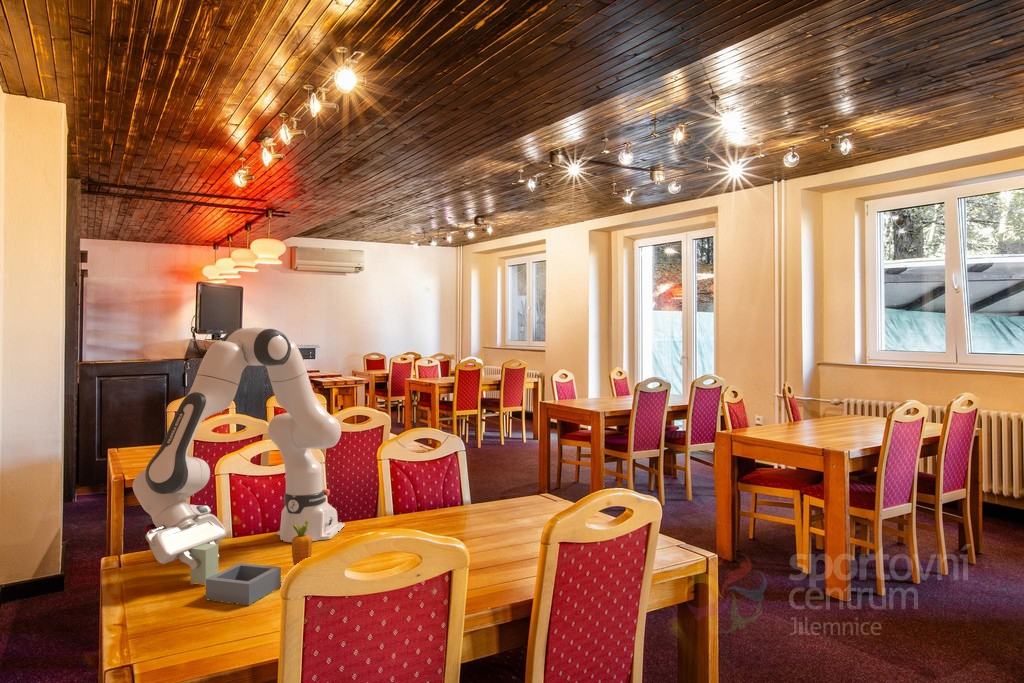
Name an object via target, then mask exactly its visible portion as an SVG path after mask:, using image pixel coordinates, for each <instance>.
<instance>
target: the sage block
mask: <svg viewBox="0 0 1024 683" xmlns="http://www.w3.org/2000/svg"><path fill="white" fill-rule="evenodd" d="M218 554H219V544H203V545H200V546H198V547H195V548H192V549H191V554H190V556H191V557H192V558H194V559H198V560H199V562H200V563H201V565H200V566H199V567H198V568H196V569H192V568H191V567H190V584H191V583H198V584H206V579H207V578H209V577H211V576H213V575H216V574H218V573H219V558H218Z"/></svg>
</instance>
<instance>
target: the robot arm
mask: <svg viewBox="0 0 1024 683" xmlns="http://www.w3.org/2000/svg"><path fill="white" fill-rule="evenodd" d="M247 366H252V367H254V366H255V367H257V366H265V368H266V370H267V374H268V378H269V382H270V385H271V388H272V392H273V394H274V398H275V400H276V401H275V402H277V405H279V406H280V407H281V408H282V409H284V410H285V411H286V412H283V413H281V414H277V415H274V417H272V419H271V420H270V422H269V424H268V428H267V430H268V432H267V433H268V437H269V439H270V440H271V441H272V442H273V443H274V444H275V446H276V447H277V448H278V451H279V454H280V455H281V457H282V461H283V465H284V471H285V473H284V474H285V492H284V496H283V504H284V507H283V508H282V510H281V517H280V518H281V519H280V526H279V530H277V534H276V535H277V536H278V535H280V536H279V539H280V540H281V541H282V540H283V541H282V542H286V543H292V539H293V538H294V537H295V536H297V535H298V534H297V532H296V530H295V529H294V527H293V525H296V524H297V525H298V526H299V529H300V528H302V526H303V524H305V521H306V520H307V521H308V525H307V528H308V529H307V530H306V532H305V534H307V535H309V536H310V537H311V538H312V542H316V541H325V540H330V539H332V538H333V537H335V536H336V535H337V534H338V533H339V532H340V531H342V530H343V529H344V528H345V527H346V525H345V523H344V522H341V521H338V511H337V509H336V508H335V507H333V506H332V505H331V504H330V503H328V501H326V500H327V498H326V496H330V494H331V490H330V489H328V488H327V489H325V488H323V466H322V464H321V463H320V461H318V460H317V459H316V457H315V456H314V454H313V452H312V450H325V449H330V448H333V447H335V446H336V445H337V444H338V442H339V441H340V438H341V435H342V426H341V423H340V421H339V420H338V419H337V418H335V417H334V416H333V415H331V414H330V413H329V412H328V411H327V410H326V409H325V408H324V406H323V405H322V404H321V402H320V401H319V399H318V398H317V396H316V395H315V392H314V390H313V386H312V384H311V380H310V378H309V377H310V376H309V374H308V371H307V367H306V363H305V360H304V358H303V355H302V353H301V352H300V350H299V348H298V345H297V344H296V343H295V342H294V341H292V340H290V339H288V337H287V336H286V335H285V334H284V333H283V332H281V331H279V330H277V329H275V328H265V327H264V328H263V327H249V328H248V327H247V328H243V327H242V328H241V327H240V328H234V329H231V330H230V331H228V332H227V333H226V334H225V335H224V336H223V337H222V339H221V340H220V341H215V342H213V343H211V344H210V346H209V347H208V349H207V351H206V353H204V356H203V358H202V361H201V362H200V364H199V368H198V369H197V373H196V376H195V377H194V381H193V384H192V386H191V387H190V390H189V392H188V393H187V395H186V396H184V398H183V400H182V401H181V403H180V404H179V406H178V408H177V411H176V412H175V415H174V417H173V419H172V421H171V422H170V423H171V424H170V425H169V427H168V430H167V432H166V435H165V437H164V439H163V441H162V443H161V445H160V447H159V449H158V450H157V451H156V452H155V454H154V456H152V458H151V459H150V460H149V462H148V464H147V465H146V468H144V469H142V470H141V471H140V472H139V473H138V474H137V475H136V476H135V478H134V479H133V482H132V490H133V493H134V496H135V497H136V499H137V501H138V502H139V504H140V505H141V508H143V511H144V512H146V513H147V514H149V516H150V517H151V519H152V522H153V524H154V526H155V527H156V528H151V529H149V530H148V531H147V532H146V534H145V540H146V541H147V543H148V544H149V546H150V547H149V548H150V549H151V552H152V555H154V558H155V559H156V561H157V562H158V563H160V564H161V565H162V564H163V565H165V564H167V563H169V562H173V561H176V560H178V559H179V560H180V562H182V563H183V564H186V565H188V566H189V567H190V569H191V568H192V569H196V568H198V567H199V566H200V565H201V563H200V562H199V560H198V559H194V558H192V557H191V549H192V548H195V547H198V546H200V545H203V544H216V545H218V544H219V543H221V542H222V541H223V540H224V539H225V537H227V530H226V527H225V526H224V525H223V523H222V522H221V521H220V519H219V518H218V517H217V516H216V515H214V514H213V513H211V511H212V510H211V507H210V506H208V505H198V504H197V505H195V504H189V503H188V502H187V500H186V499H188V498H190V497H192V496H193V495H195V494H197V493H198V492H200V491H201V490H203V489H204V488H205V487H206V486H207V484H208V483H209V481H210V478H211V468H210V466H209V464H208V462H207V461H206V460H204V459H203V458H199V457H196V456H190V455H188V452H189V449H190V447H191V446H192V442H193V440H194V439H195V436H196V433H197V432H198V429H199V427H200V425H201V423H203V421H205V420H206V419H207V418H208V417H210V416H212V415H216V414H218V413H221V412H223V411H225V410H226V409H228V408H229V407H230V406H231V405H232V402H233V401H234V399H235V397H236V394H237V393H238V392H237V391H238V387H239V386H240V382H241V377H242V373H243V371H245V368H246V367H247ZM342 523H343V524H342ZM344 526H345V527H344ZM343 527H344V528H343ZM342 528H343V529H342ZM341 529H342V530H341ZM338 531H339V532H338ZM219 558H220V554H219V553H218V559H219Z"/></svg>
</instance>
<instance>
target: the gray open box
mask: <svg viewBox="0 0 1024 683" xmlns="http://www.w3.org/2000/svg"><path fill="white" fill-rule="evenodd" d="M281 576H282V567H281V566H273V565H265V564H264V565H263V564H255V563H254V564H253V563H244V562H238V563H237V564H234V565H232V566H231V567H229V568H226V569H224V570H222V571H219V572H218V574H216V575H213V576H211V577H209V578H207V579H206V586H205V600H206V599H209V600H215V601H223V602H230V603H238V604H244V605H243V606H246V605H250V604H251V605H253V604H254V603H253V602H255V601H257V600H258V601H260V600H261V599H260V598H262V597H263V598H265V597H267V596H268V595H270V594H271V593H270V592H272V591H274V590H275V589H277V588H279V589H280V588H281V587H280V584H281V585H282V583H281V581H282V577H281ZM277 590H278V589H277ZM275 591H276V590H275ZM275 591H274V592H275ZM269 593H270V594H269ZM272 593H273V592H272ZM267 594H268V595H267ZM266 595H267V596H266ZM264 596H265V597H264ZM263 598H262V599H263ZM259 599H260V600H259ZM215 601H214V602H215ZM258 601H257V602H258ZM230 603H229V604H230ZM252 603H253V604H252ZM255 603H256V602H255ZM238 604H237V605H238ZM251 605H250V606H251Z"/></svg>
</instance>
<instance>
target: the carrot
mask: <svg viewBox="0 0 1024 683" xmlns="http://www.w3.org/2000/svg"><path fill="white" fill-rule="evenodd" d="M307 525H308V521H307V520H306V521H305V524H303V526H302V528H300V529H299V526H298V525H297V524H296V525H293V527H294V529H295V530H296V532H297V534H298V535H297V536H295V537H294V538H293V539H292V542H291V555H292V562H293V563H292V564H293V566H294V565H296V564H297V563H299V562H300V561H302V560H303V559H305V558H308V557H311V558H312V551H313V550H312V547H313V541H312V538H311V537H310V536H309V535H307V534H305V532H306V530H307V529H308V528H307Z"/></svg>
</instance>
